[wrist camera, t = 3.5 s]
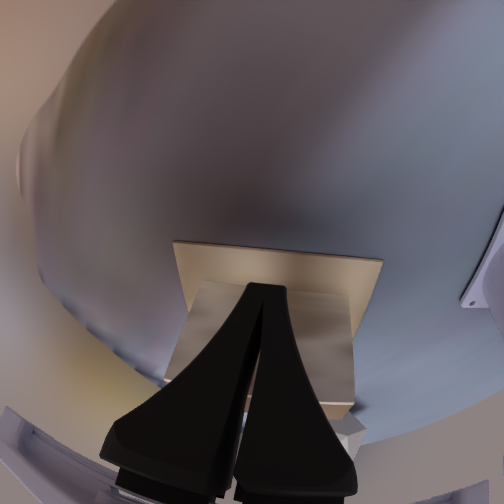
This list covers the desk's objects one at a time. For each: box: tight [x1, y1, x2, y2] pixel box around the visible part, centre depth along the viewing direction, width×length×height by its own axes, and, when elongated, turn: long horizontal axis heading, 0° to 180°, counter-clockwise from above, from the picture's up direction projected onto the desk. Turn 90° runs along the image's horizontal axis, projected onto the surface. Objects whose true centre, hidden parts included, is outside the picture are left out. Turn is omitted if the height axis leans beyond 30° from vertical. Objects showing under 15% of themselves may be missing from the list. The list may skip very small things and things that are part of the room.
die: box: [328, 411, 366, 461], centre depth 25 cm, size 8×9×10 cm
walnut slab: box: [164, 281, 355, 420], centre depth 15 cm, size 9×2×7 cm, turn 90°
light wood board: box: [173, 241, 383, 341], centre depth 20 cm, size 12×16×1 cm
